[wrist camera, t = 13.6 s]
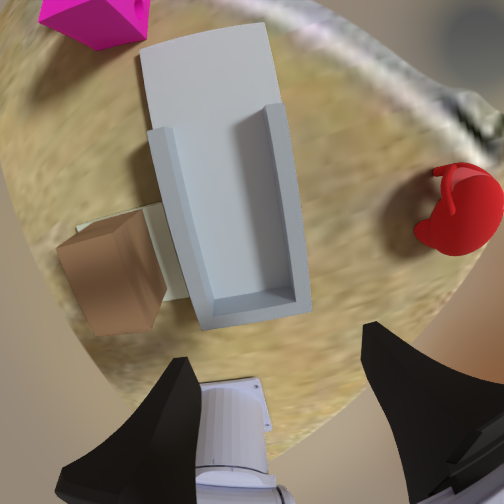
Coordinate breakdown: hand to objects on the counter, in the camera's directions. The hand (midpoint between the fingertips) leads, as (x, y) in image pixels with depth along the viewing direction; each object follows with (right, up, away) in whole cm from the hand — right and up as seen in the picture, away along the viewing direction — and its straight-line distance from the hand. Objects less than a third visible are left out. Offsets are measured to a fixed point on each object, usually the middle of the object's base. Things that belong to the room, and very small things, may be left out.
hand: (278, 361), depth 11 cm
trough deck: (-3, +9, +7) cm, 12 cm away
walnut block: (-10, +4, +8) cm, 13 cm away
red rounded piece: (+14, +8, +8) cm, 18 cm away
